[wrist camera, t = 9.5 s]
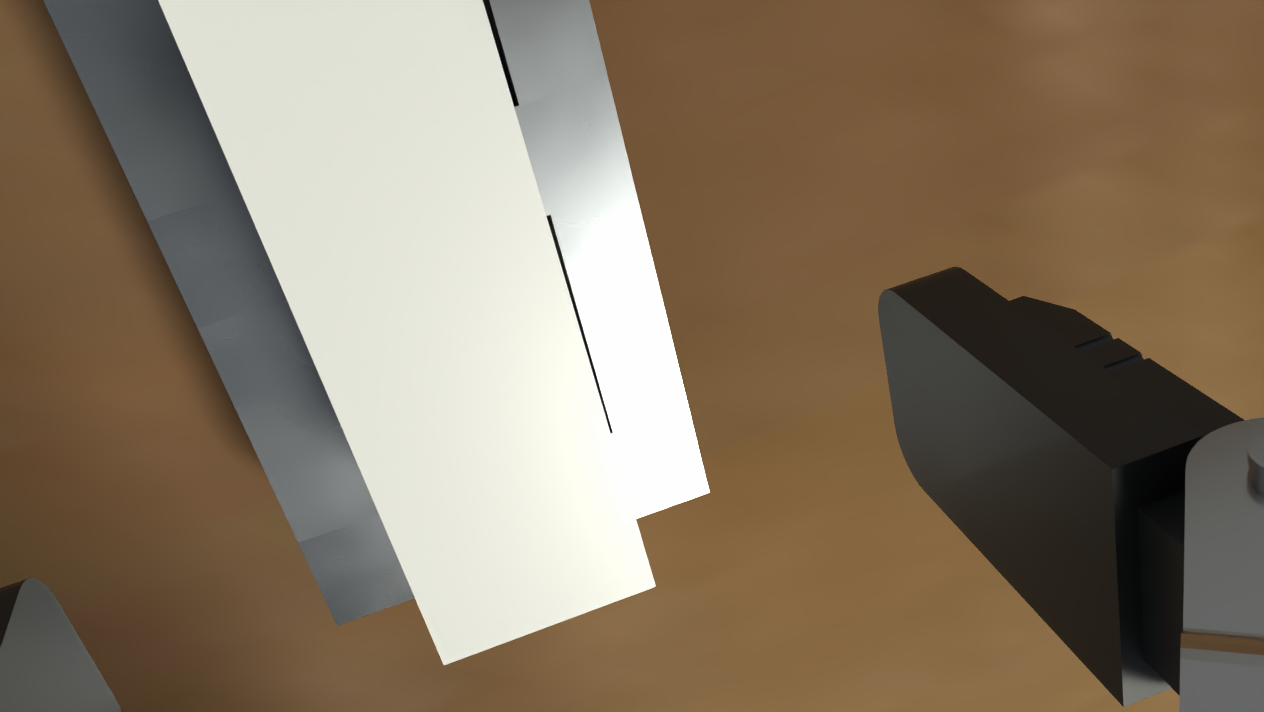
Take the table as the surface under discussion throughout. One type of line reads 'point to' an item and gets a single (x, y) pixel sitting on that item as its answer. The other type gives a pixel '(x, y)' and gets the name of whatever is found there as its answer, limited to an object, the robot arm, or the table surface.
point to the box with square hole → (266, 328)
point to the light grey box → (426, 298)
